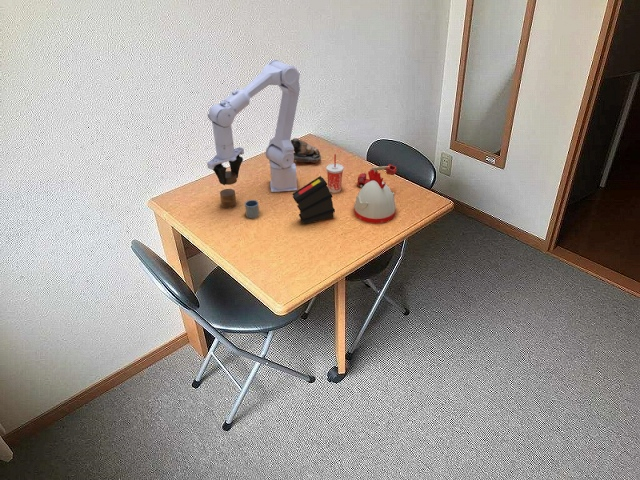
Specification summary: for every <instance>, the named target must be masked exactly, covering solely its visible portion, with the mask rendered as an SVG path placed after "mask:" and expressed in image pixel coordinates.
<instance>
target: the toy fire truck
mask: <svg viewBox="0 0 640 480" xmlns="http://www.w3.org/2000/svg"><path fill="white" fill-rule="evenodd" d="M373 169H374V173H375V172H376V171H377V174H378V173H379V171H385V173H386V175H388V176H395V174H396V173H397V166H395V165H392V164H388V165H383V166H371V168H370V169H369V171H371V170H373ZM381 178H382V176H380V179H381ZM369 181H370V179H369V178H367V173H365V172H363V173H360V174H359V175H358V177H357V184H356V185H357V187H359V188H360V189H362V188H363V186H364V185H365V184H366V183H368V182H369ZM383 182H384V183H386V181H383Z"/></svg>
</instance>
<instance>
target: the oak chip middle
mask: <svg viewBox="0 0 640 480" xmlns="http://www.w3.org/2000/svg"><path fill="white" fill-rule="evenodd" d="M219 198H220V202H221V201H223V202H232V201H234V200H235V199H236V200H237V196H236V190H235V189H232V188H223V189H222V190H221V191H220V192H219Z"/></svg>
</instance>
